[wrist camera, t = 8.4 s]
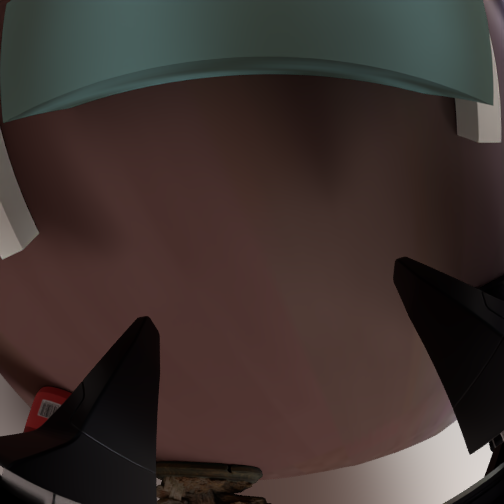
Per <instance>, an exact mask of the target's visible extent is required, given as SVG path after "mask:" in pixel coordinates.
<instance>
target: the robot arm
mask: <svg viewBox="0 0 504 504" xmlns="http://www.w3.org/2000/svg"><path fill="white" fill-rule="evenodd" d="M393 280H394V284H395V286H396V288H397V290H398V293H399V295H400V297H401V299H402V302H403V304H404V306H405V309H406V311H407V313H408V316H409V318H410V320H411V321H412V323H413V325H414V327H415V329H416V331H417V333H418V335H419V336H420V338H421V340H422V342H423V344H424V346H425V348H426V350H427V352H428V354H429V356H430V358H431V360H432V362H433V364H434V366H435V369H436V371H437V373H438V375H439V377H440V379H441V382H442V384H443V386H444V388H445V391H446V393H447V395H448V398H449V400H450V402H451V405H452V407H453V410H454V413H455V415H456V418H457V420H458V423H459V426H460V428H461V431H462V434H463V437H464V440H465V443H466V446H467V448H468V451H469V454H472V453H474V452H475V451H476V450H478V449H480V448H481V447H483V446H484V445H485V444H487V443H488V442H489V445H490V449H491V451H492V452H493V454H492V457H491V460H490V463H489V465H488V468H487V471H486V473H485V477H484V478H483V479H481V480H480V481H478V482H477V483H475V484H474V485H473V486H471V487H470V488H468V489H467V490H465V491H463V492H462V493H460V494H459V495H457V496H455V497H454V498H452V499H450V500H449V501H447V502H445V503H443V504H504V276H502V277H501V278H499V279H497V280H495V281H493V282H491V283H489V284H487V285H485V286H483V287H481V288H479V289H477V288H475V287H472V286H470V285H468V284H466V283H464V282H462V281H460V280H458V279H455V278H453V277H451V276H449V275H447V274H445V273H442V272H440V271H438V270H436V269H433V268H431V267H429V266H427V265H424V264H422V263H420V262H417V261H415V260H413V259H410V258H408V257H402V258H398V259H396V261H395V266H394V275H393ZM159 381H160V336H159V332H158V330H157V328H156V327H155V325H154V324H153V322H152V320H151V319H150V318H149V317H148V316H144V317H139V318H137V319H136V320H135V321H134V322H133V324H132V325H131V326H130V327H129V328H128V329H127V330H126V331H125V332H124V334H123V335H122V336H121V337H120V338H119V339H118V340H117V341H116V343H115V344H114V345H113V346H112V347H111V348H110V349H109V351H108V352H107V353H106V354H105V355H104V356H103V357H102V359H101V360H100V361H99V362H98V363H97V364H96V366H95V367H94V368H93V369H92V370H91V371H90V373H89V374H88V375H87V376H86V377H85V378H84V380H83V382H81V383H80V384H79V386H78V387H77V388H76V389H75V390H74V392H73V393H72V394H71V395H70V396H69V397H68V398H67V399H66V400H65V402H64V403H63V404H62V405H61V406H60V407H59V408H58V409H57V410H56V411H55V412H54V413H53V414H52V415H51V416H50V417H49V418H48V419H47V420H46V422H45V423H44V424H43V425H42V426H40V427H39V428H37V429H35V430H33V431H30V432H25V433H19V434H14V435H7V436H0V466H2V467H3V468H4V469H3V474H2V476H1V475H0V504H157V491H156V474H155V473H156V434H157V411H158V394H159Z"/></svg>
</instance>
